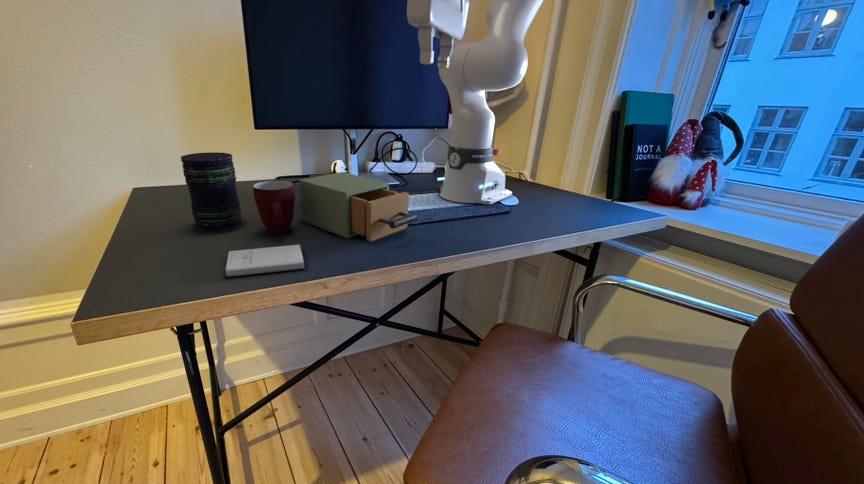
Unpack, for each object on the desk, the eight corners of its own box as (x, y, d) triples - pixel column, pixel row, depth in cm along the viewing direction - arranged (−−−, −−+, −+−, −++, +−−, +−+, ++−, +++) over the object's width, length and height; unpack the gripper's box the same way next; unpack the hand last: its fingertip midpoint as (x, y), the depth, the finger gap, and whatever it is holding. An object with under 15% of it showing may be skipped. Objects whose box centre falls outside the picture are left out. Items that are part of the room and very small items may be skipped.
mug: (305, 238, 76) (301, 190, 71) (265, 244, 72) (258, 194, 68) (292, 223, 84) (288, 179, 80) (256, 227, 81) (249, 182, 76)
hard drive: (304, 270, 63) (226, 278, 59) (300, 251, 70) (230, 257, 66) (303, 261, 62) (225, 269, 59) (299, 243, 69) (229, 249, 66)
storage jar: (185, 227, 80) (169, 157, 73) (222, 215, 88) (210, 150, 81) (217, 236, 76) (202, 162, 69) (252, 222, 84) (243, 155, 77)
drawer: (423, 233, 77) (425, 196, 74) (386, 247, 70) (387, 208, 66) (361, 213, 89) (360, 181, 85) (324, 224, 81) (322, 189, 78)
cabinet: (388, 224, 84) (389, 182, 80) (347, 238, 76) (346, 192, 72) (343, 209, 94) (341, 171, 90) (302, 220, 85) (299, 179, 81)
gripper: (445, -66, 46) (434, 61, 52) (477, -22, 63) (467, 70, 69) (398, -60, 48) (393, 61, 54) (442, -19, 65) (434, 69, 71)
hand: (435, 66), depth 62 cm, fingers open, 8 cm apart
